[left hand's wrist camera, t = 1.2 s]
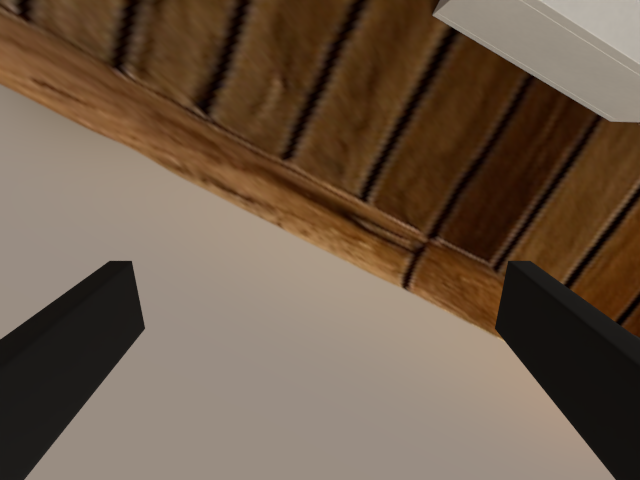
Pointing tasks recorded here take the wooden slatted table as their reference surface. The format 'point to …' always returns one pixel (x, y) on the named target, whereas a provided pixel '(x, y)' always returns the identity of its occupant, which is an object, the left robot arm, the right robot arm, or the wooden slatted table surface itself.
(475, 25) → the cabinet
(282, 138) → the wooden slatted table surface
